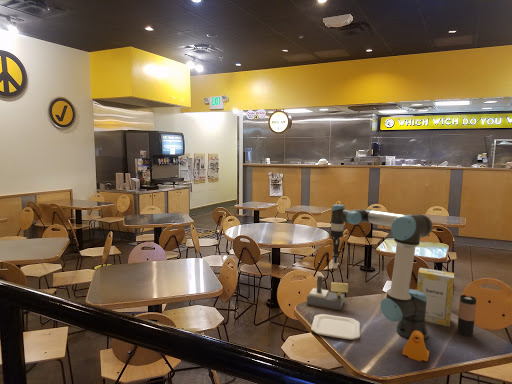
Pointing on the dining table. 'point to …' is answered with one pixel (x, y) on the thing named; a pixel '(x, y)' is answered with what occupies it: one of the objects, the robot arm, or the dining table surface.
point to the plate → (336, 326)
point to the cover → (319, 289)
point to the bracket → (416, 347)
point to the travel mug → (466, 315)
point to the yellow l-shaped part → (339, 288)
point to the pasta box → (436, 294)
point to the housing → (327, 301)
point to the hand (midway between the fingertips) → (334, 265)
